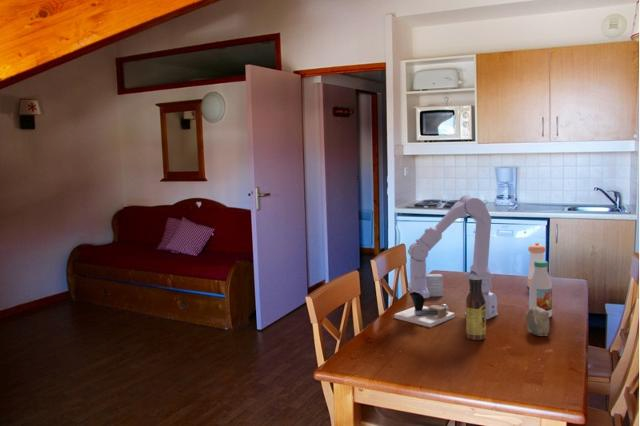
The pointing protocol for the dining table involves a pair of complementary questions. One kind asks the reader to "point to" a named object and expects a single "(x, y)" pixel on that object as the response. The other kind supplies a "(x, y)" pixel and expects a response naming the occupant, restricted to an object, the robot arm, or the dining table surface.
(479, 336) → the sauce bottle
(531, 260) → the orange-capped bottle
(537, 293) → the milk bottle
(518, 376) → the dining table surface
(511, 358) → the dining table surface
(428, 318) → the board
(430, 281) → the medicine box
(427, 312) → the steel link
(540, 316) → the grey rock
